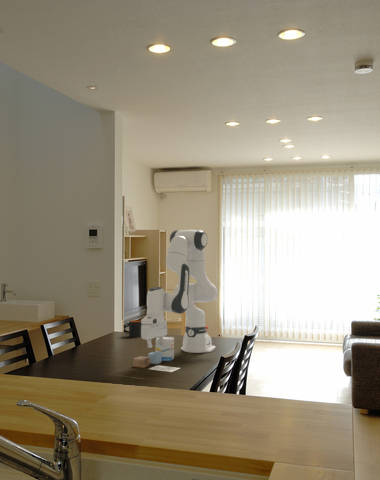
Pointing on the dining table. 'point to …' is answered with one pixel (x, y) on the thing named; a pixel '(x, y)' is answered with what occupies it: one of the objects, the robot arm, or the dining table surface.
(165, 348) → the ink box
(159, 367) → the letter
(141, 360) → the walnut block
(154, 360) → the cube
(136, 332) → the mug
